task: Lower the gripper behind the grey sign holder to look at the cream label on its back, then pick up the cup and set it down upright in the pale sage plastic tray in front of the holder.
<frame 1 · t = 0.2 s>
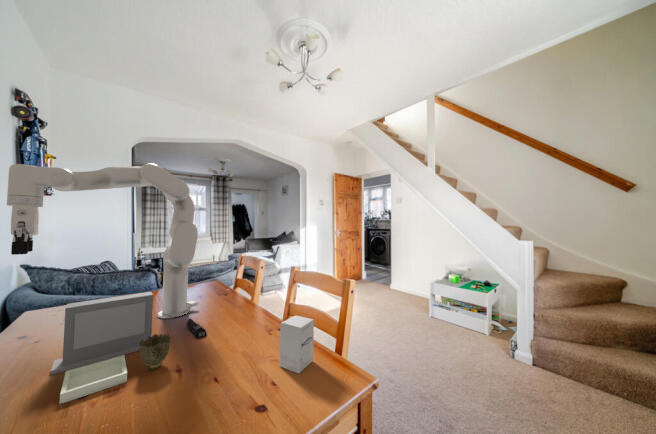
hand: (22, 252, 79), 31 cm above the table, tool pointing down, fingers open, 9 cm apart
supplement box: (296, 364, 70), on the table
grey sign holder: (110, 353, 74), on the table
parts tray: (96, 380, 62), on the table
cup: (154, 368, 68), on the table
electric trimmer: (194, 332, 91), on the table
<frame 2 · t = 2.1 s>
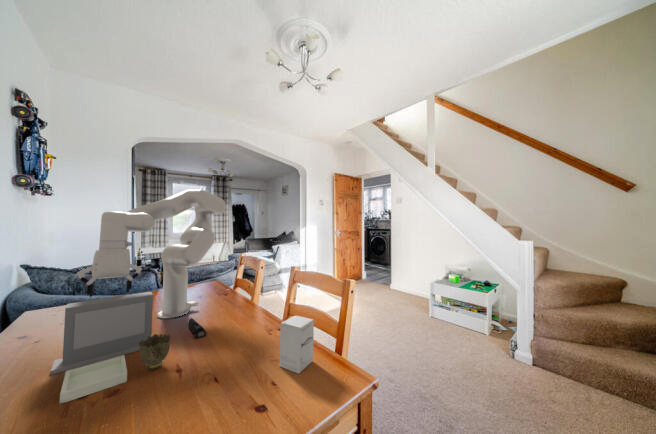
hand: (109, 293, 85), 16 cm above the table, tool pointing down, fingers open, 9 cm apart
nothing on the table moved.
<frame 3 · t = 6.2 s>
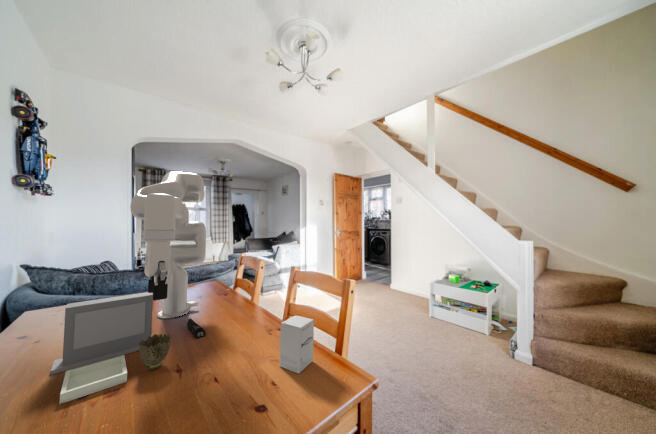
hand: (157, 295, 68), 20 cm above the table, tool pointing down, fingers open, 9 cm apart
nothing on the table moved.
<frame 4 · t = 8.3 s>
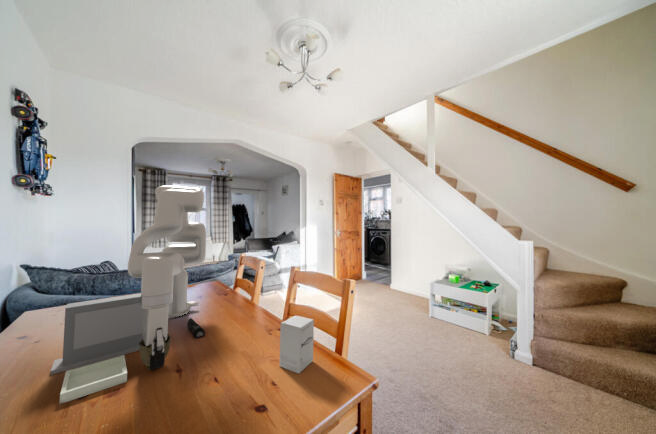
hand: (154, 361, 68), 2 cm above the table, tool pointing down, fingers closed on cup, 6 cm apart
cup: (154, 368, 68), on the table, touching gripper
everything else where it was.
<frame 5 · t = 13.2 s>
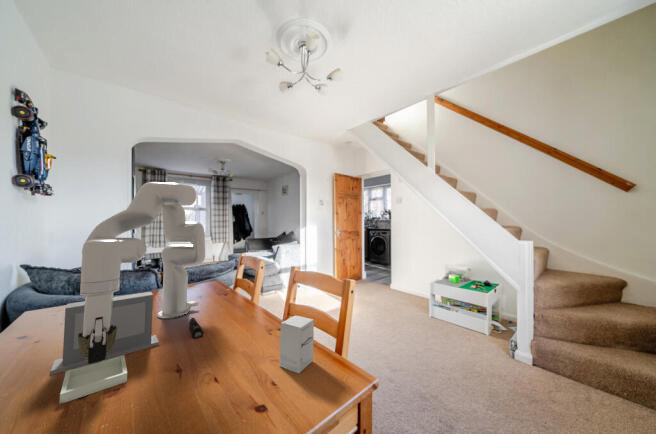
hand: (97, 355, 62), 7 cm above the table, tool pointing down, fingers closed on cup, 6 cm apart
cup: (96, 362, 62), point 5 cm above the table, touching gripper
everything else where it was.
when the fingers open (3 cm above the table, at t = 14.4 s): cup drops 1 cm, resting on parts tray.
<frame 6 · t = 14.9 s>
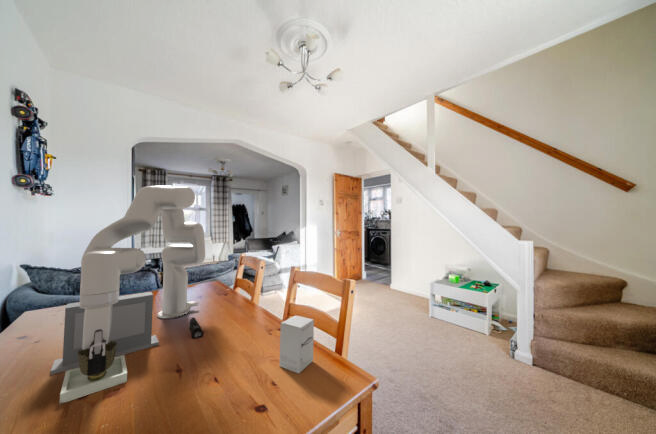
hand: (96, 364, 62), 4 cm above the table, tool pointing down, fingers open, 9 cm apart
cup: (97, 378, 62), resting on parts tray
everything else where it was.
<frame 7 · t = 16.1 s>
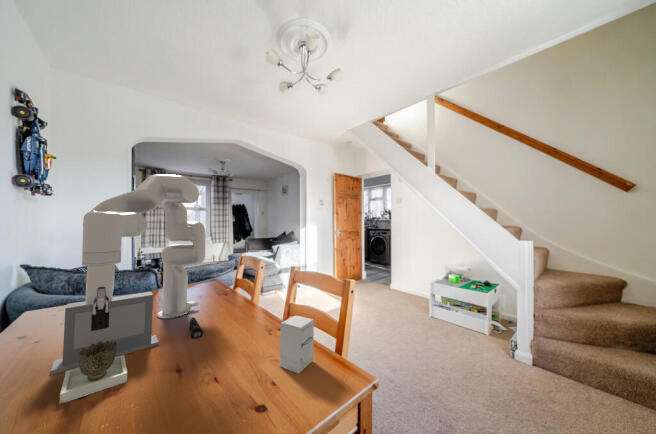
hand: (100, 322, 63), 15 cm above the table, tool pointing down, fingers open, 9 cm apart
nothing on the table moved.
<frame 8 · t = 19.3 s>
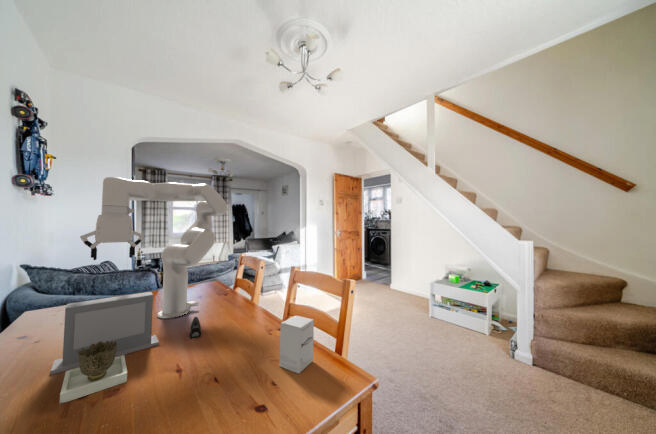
hand: (113, 258, 86), 28 cm above the table, tool pointing down, fingers open, 9 cm apart
at the end: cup 0.2 cm off-centre on the parts tray, point 0.4 cm above the parts tray's base; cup tilted 0°; the gripper is holding nothing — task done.
